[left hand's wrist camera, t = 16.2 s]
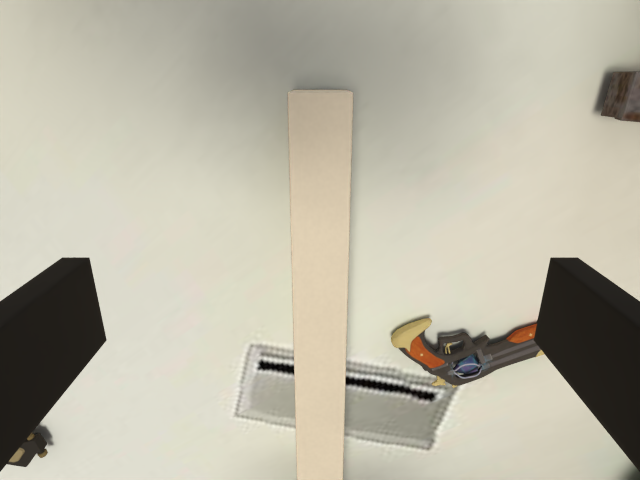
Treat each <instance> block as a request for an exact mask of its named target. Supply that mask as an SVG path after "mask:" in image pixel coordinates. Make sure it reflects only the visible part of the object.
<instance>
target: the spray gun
mask: <svg viewBox="0 0 640 480" xmlns="http://www.w3.org/2000/svg"><path fill="white" fill-rule="evenodd" d="M46 445H47V442H46V441H45V440H44V438H43V437H42V436H41V434H40V433H36V434H32V433H31V434H30V435H29V437H28V438H27V439H26V440H25V442H24V443H23V444H22V445H21V447H20V448H19V449H18V450H17V452H16V453H15V454H14V455H13V456H12V458H11V459H10V460H9V461H8V463H7V464H10V465H16V466H23V467H27V465H28V464H29V463H30V462H31V460H32V459H33V457H34V456H35V454H36V453H38V456H39V457H40V458H43V457H44V456H46V455H47V453H48V452H47V450H46V449H44V448H45V446H46Z"/></svg>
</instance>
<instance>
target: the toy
mask: <svg viewBox="0 0 640 480" xmlns="http://www.w3.org/2000/svg"><path fill="white" fill-rule="evenodd" d="M601 115H602V116H609V117H615V119H618V120H622V121H634V122H640V72H613V76H612V79H611V83H610V86H609V89H608V93H607V96H606V100H605V103H604V106H603V110H602V113H601Z"/></svg>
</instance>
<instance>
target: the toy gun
mask: <svg viewBox="0 0 640 480" xmlns="http://www.w3.org/2000/svg"><path fill="white" fill-rule="evenodd" d="M431 322H432V320H431V319H430V318H425V319H421V320H418V321H415V322H412V323H409V324H406V325H404V326H402V327H401V328H399V329H397V330H396V331H395V332H394V333H393V335H392V337H391V342H392V344H393V346H394V347H396V348H399V349H400V350H401V351H402V352H403V353H404V354H405V355H406V356H407V357H409V358H410V359H412V360H413V361H415V362H416V363H418V364H420V365H421V366H422V367H423V369H424V370H425V371H428V372H429V373H431V374H433V375H436V376H437V380H436V381H434V382H433V383H432V385H434V386H437V385H446V384H445V383H444V382H445V381H446V382H448V383H450V384H452V386H453V388H454V387H456V386H458V385H462V384H465V383H468V382H471V381H474V380H477V379H479V378H482V377H484V376H486V375H488V374H490V373H491V372H493V371H495V370H497V369H499V368H502V367H505V366H508V365H511V364H514V363H517V362H520V361H523V360H526V359H530V358H533V357H537V356H540V355H543V354H544V353H543V351H542V350H541V349H540V348H539V346H538V345H537V344H536V343H535V341H534V336H535V331H536V326H537V324H534V325H530V326H527V327H524V328H521V329H518V330H516V331H515V332H513V333H512V334H511V335H510V336H508V337H507V338H506V339H505V340H503V341H500V342H497V343H493V344H488V345H487V343H488V341H489V338H488V337H487V335H484V336H483V337H481V338H480V339H478V340H477V341H475V342H472V340H471V338H470V337H469V335H467V334H466V333H460V334H457V335H453V336H444V337H439V338H438V342H439V347H438V349H436V350H434V349H433V348H431V347H430V346H429V345H428V344H427V343H426V342H425V338H424V331H425V329H427V328H428V327H429V326H430V324H431ZM461 340H463V345H462V347H459V348H456V349H454V350H451V351H450V349H449V346H450V345H452V344H453V343H451V342H458V341H461ZM444 343H447V344H446V346H445V352H443V344H444ZM447 347H448V352H447V351H446V348H447ZM474 353H475V355H476V356H475V355H473V354H474ZM457 360H459V361H458V363H457V364H456V366H455V367H454V368H452V365H453V362H454V361H457ZM479 361H480V362H479ZM451 363H452V364H451ZM478 366H479V367H480V368H478ZM454 371H455V372H459V373H463V374H462V375H458V374H457V373H455V372H454ZM455 374H456V375H455Z"/></svg>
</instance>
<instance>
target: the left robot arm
mask: <svg viewBox="0 0 640 480" xmlns="http://www.w3.org/2000/svg"><path fill="white" fill-rule="evenodd" d="M105 341H106V336H105V331H104V326H103V321H102V316H101V312H100V307H99V302H98V297H97V292H96V288H95V283H94V278H93V273H92V268H91V264H90V259H89V258H61V259H60V260H58V261H57V262H56V263H54V264H53V265H51V266H50V267H48V268H47V269H46V270H44V271H43V272H41V273H40V274H39V275H37V276H36V277H34V278H33V279H31V280H30V281H29V282H27V283H26V284H24V285H23V286H22V287H20V288H19V289H17V290H16V291H14V292H13V293H12V294H10V295H9V296H7V297H6V298H5V299H3V300H2V301H0V471H1V470H2V469H3V468H4V466H5V465H6V464H7V463H8V461H9V460H10V459H11V458H12V456H13V455H14V454H15V453H16V452H17V450H18V449H19V448H20V447H21V445H22V444H23V443H24V442H25V440H26V439H27V438H28V437H29V435H30V434H31V433H32V432H33V430H34V429H35V428H36V427H37V426H38V424H39V423H40V422H41V421H42V419H43V418H44V417H45V416H46V414H47V413H48V412H49V411H50V409H51V408H52V407H53V406H54V404H55V403H56V402H57V401H58V400H59V398H60V397H61V396H62V395H63V393H64V392H65V391H66V390H67V388H68V387H69V386H70V385H71V383H72V382H73V381H74V380H75V379H76V377H77V376H78V375H79V374H80V372H81V371H82V370H83V369H84V367H85V366H86V365H87V364H88V362H89V361H90V360H91V359H92V357H93V356H94V355H95V354H96V353H97V351H98V350H99V349H100V348H101V346H102V345H103V344H104V343H105ZM534 341H535V343H536V344H537V345H538V346H539V348H540V349H541V350H542V351H543V353H544V354H545V355H546V356H547V357H548V359H549V360H550V361H551V362H552V364H553V365H554V366H555V367H556V369H557V370H558V371H559V372H560V374H561V375H562V376H563V377H564V379H565V380H566V381H567V382H568V383H569V385H570V386H571V387H572V388H573V390H574V391H575V392H576V393H577V395H578V396H579V397H580V398H581V400H582V401H583V402H584V403H585V404H586V406H587V407H588V408H589V409H590V411H591V412H592V413H593V414H594V416H595V417H596V418H597V419H598V421H599V422H600V423H601V424H602V426H603V427H604V428H605V429H606V430H607V432H608V433H609V434H610V435H611V437H612V438H613V439H614V440H615V442H616V443H617V444H618V445H619V447H620V448H621V449H622V450H623V452H624V453H625V454H626V455H627V456H628V458H629V459H630V460H631V461H632V463H633V464H634V465H635V466H636V468H637V469H638V470H639V471H640V301H638V300H637V299H635V298H634V297H633V296H631V295H630V294H628V293H627V292H626V291H624V290H623V289H621V288H620V287H618V286H617V285H616V284H614V283H613V282H611V281H610V280H609V279H607V278H606V277H604V276H603V275H601V274H600V273H599V272H597V271H596V270H594V269H593V268H592V267H590V266H589V265H587V264H586V263H584V262H583V261H582V260H580V259H579V258H551V259H550V264H549V268H548V273H547V278H546V283H545V288H544V292H543V297H542V302H541V307H540V312H539V316H538V321H537V326H536V331H535V336H534Z"/></svg>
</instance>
